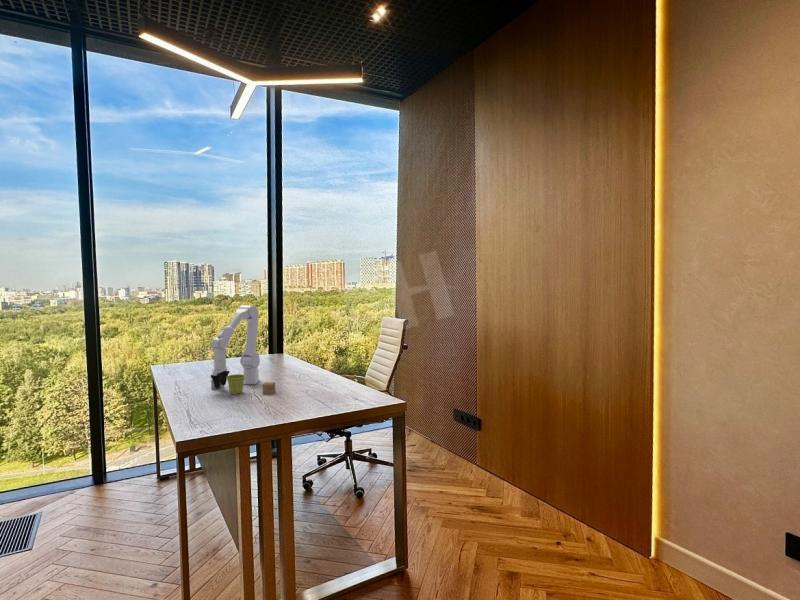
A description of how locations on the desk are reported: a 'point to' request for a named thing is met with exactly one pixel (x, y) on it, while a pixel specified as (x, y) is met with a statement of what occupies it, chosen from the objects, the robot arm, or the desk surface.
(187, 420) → the desk surface
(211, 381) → the slate block
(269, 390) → the walnut block
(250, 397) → the desk surface
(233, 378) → the plant pot
